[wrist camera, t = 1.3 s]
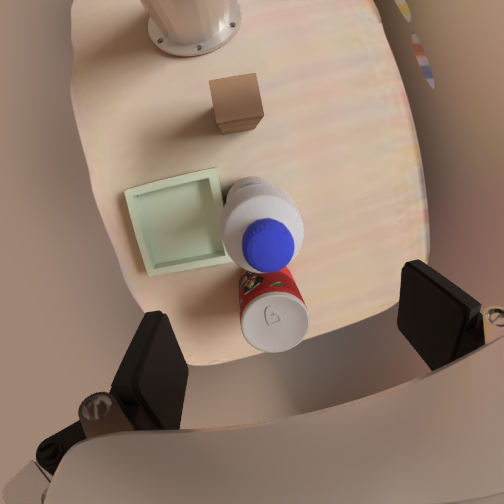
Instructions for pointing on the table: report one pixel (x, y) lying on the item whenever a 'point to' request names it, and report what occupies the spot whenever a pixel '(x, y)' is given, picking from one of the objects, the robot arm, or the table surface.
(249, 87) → the walnut post
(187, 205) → the tray
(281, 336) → the canned food
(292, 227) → the bottle
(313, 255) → the table surface
